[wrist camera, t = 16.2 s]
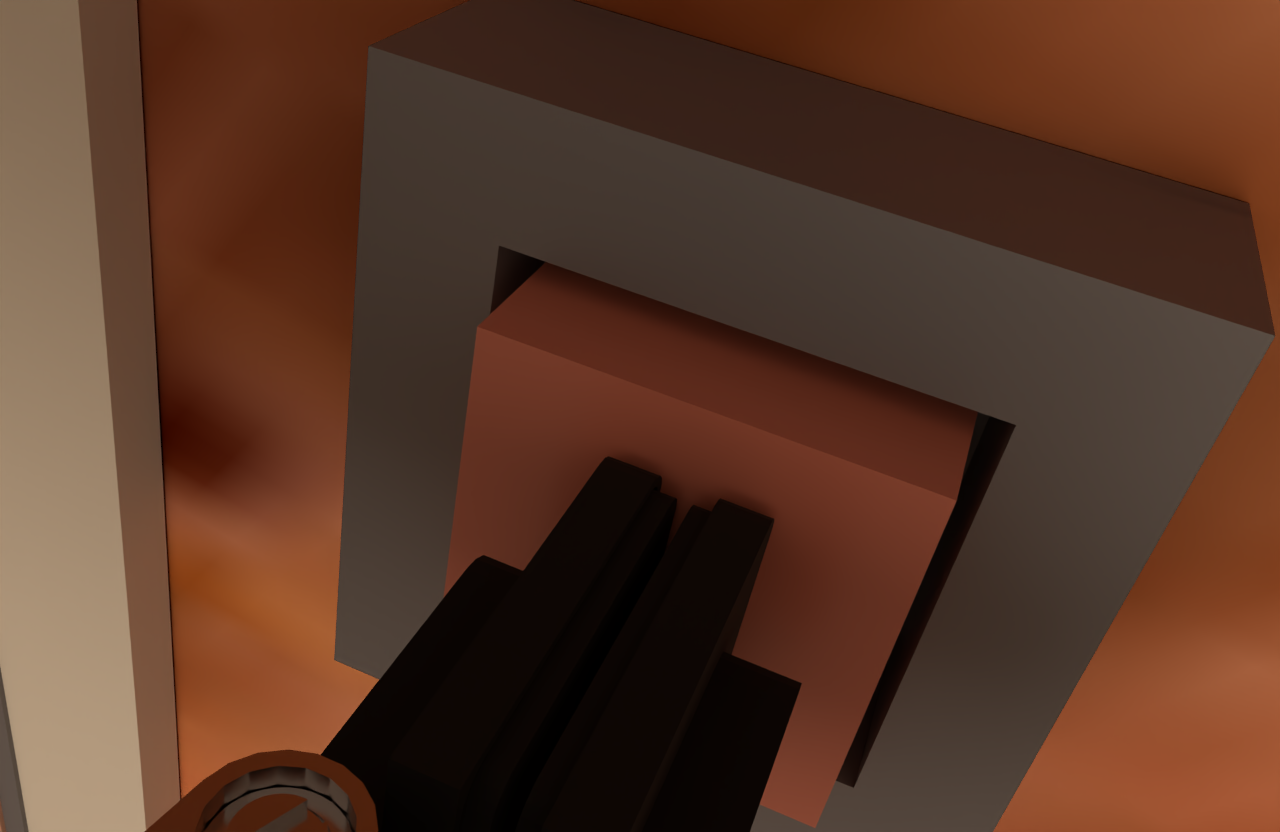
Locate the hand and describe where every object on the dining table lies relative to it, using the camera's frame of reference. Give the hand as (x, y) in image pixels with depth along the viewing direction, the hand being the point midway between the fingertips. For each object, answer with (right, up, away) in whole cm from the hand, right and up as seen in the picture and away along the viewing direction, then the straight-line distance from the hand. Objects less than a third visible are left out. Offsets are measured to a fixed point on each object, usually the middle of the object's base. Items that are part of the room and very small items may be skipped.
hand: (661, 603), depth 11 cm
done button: (+1, +2, +2) cm, 3 cm away
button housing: (+1, +2, +3) cm, 4 cm away
